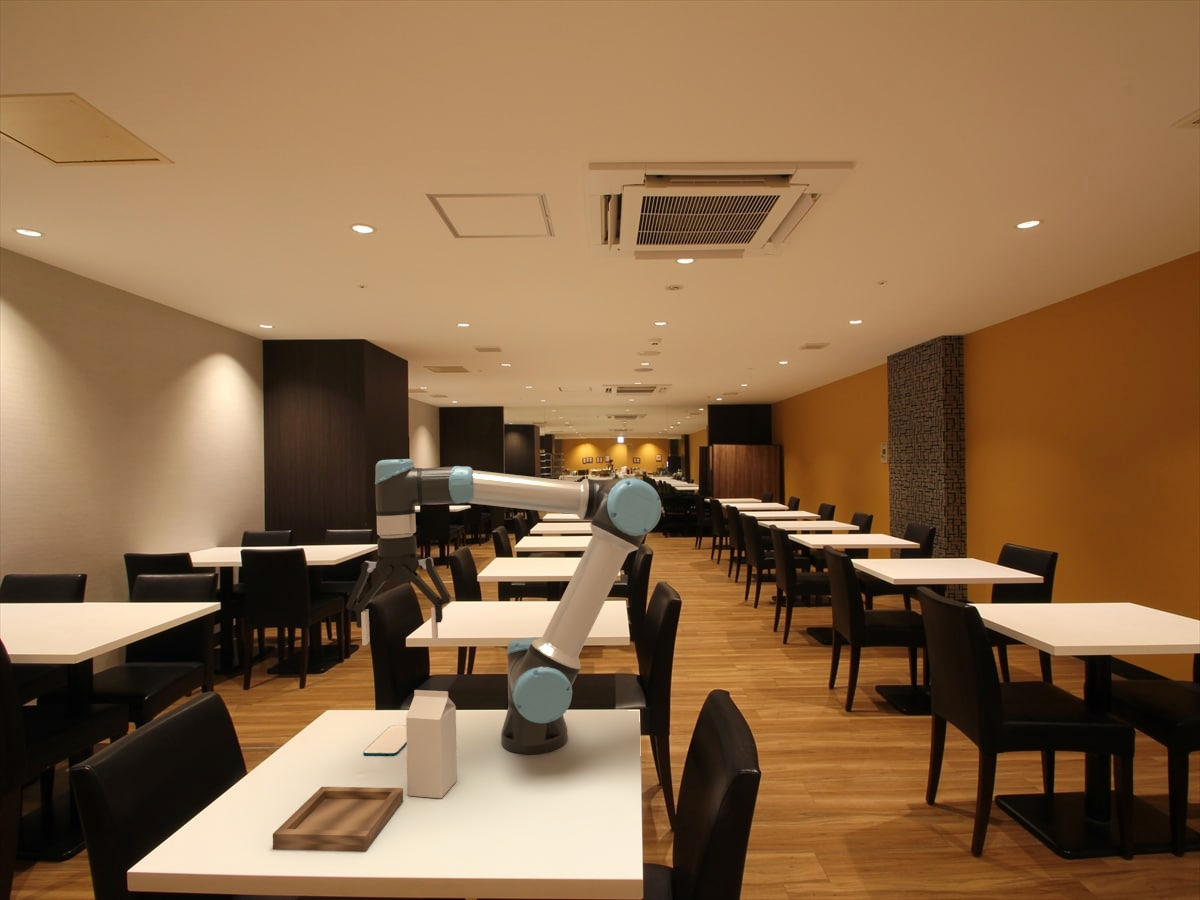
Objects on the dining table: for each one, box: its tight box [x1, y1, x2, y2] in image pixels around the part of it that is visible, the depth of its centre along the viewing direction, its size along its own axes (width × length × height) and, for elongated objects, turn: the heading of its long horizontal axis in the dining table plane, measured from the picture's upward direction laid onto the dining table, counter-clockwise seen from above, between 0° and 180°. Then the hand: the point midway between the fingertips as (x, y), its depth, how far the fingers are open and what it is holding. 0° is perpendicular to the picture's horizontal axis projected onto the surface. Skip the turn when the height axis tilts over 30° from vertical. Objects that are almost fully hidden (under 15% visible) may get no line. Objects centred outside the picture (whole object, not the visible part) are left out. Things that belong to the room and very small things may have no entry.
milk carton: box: [405, 689, 458, 799], centre depth 128 cm, size 7×7×19 cm
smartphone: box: [362, 725, 407, 757], centre depth 151 cm, size 8×1×16 cm
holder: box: [272, 786, 404, 852], centre depth 116 cm, size 16×16×2 cm
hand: (400, 641), depth 131 cm, fingers open, 13 cm apart
